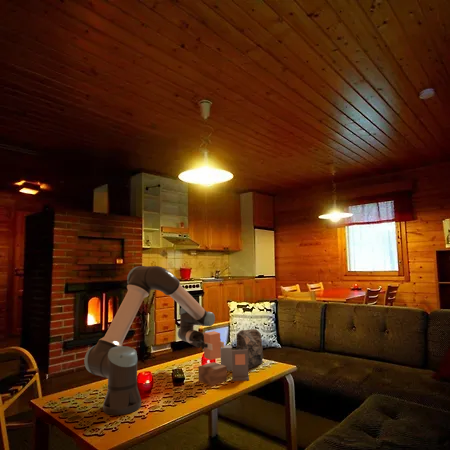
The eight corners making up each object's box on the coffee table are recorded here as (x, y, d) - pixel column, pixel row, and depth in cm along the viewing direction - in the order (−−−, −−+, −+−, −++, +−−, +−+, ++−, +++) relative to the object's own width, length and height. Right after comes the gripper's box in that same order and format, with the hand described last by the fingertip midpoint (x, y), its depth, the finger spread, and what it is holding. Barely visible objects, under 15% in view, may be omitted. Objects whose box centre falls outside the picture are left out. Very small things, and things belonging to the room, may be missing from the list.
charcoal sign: (233, 380, 170) (232, 351, 172) (232, 378, 174) (231, 349, 176) (249, 380, 171) (248, 351, 172) (248, 377, 175) (247, 349, 176)
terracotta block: (204, 357, 174) (203, 332, 175) (214, 355, 177) (213, 331, 178) (210, 359, 169) (209, 334, 170) (220, 357, 172) (220, 333, 173)
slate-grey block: (221, 371, 186) (220, 348, 187) (220, 367, 192) (220, 345, 193) (232, 370, 186) (231, 347, 187) (231, 367, 192) (231, 345, 193)
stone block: (244, 371, 185) (243, 333, 187) (233, 367, 191) (232, 330, 193) (267, 364, 196) (266, 328, 198) (256, 360, 203) (255, 326, 205)
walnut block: (198, 381, 172) (198, 366, 173) (213, 376, 179) (213, 362, 179) (211, 386, 165) (211, 370, 165) (226, 380, 171) (226, 366, 172)
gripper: (210, 342, 193) (233, 350, 174) (179, 347, 183) (200, 357, 164) (209, 328, 194) (233, 335, 175) (179, 333, 184) (200, 341, 164)
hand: (217, 346), depth 169 cm, fingers closed on terracotta block, 6 cm apart
